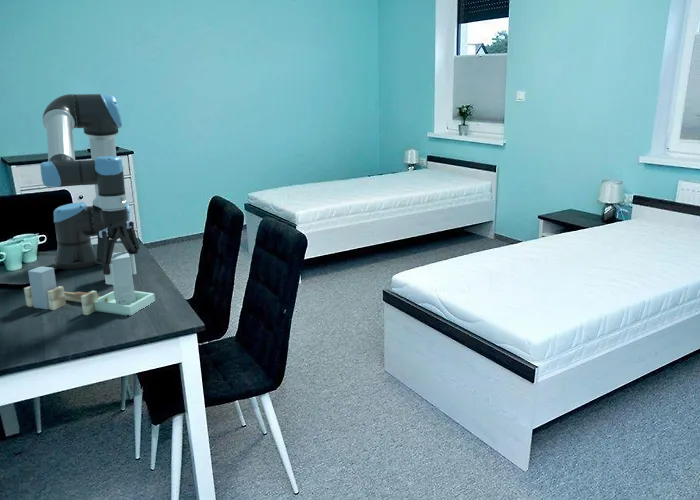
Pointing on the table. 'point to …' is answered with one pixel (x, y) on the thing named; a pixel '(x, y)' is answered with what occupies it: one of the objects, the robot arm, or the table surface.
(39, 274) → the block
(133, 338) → the table surface
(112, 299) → the tray
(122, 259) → the skincare box
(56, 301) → the beige elongated piece
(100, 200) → the robot arm
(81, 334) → the table surface
